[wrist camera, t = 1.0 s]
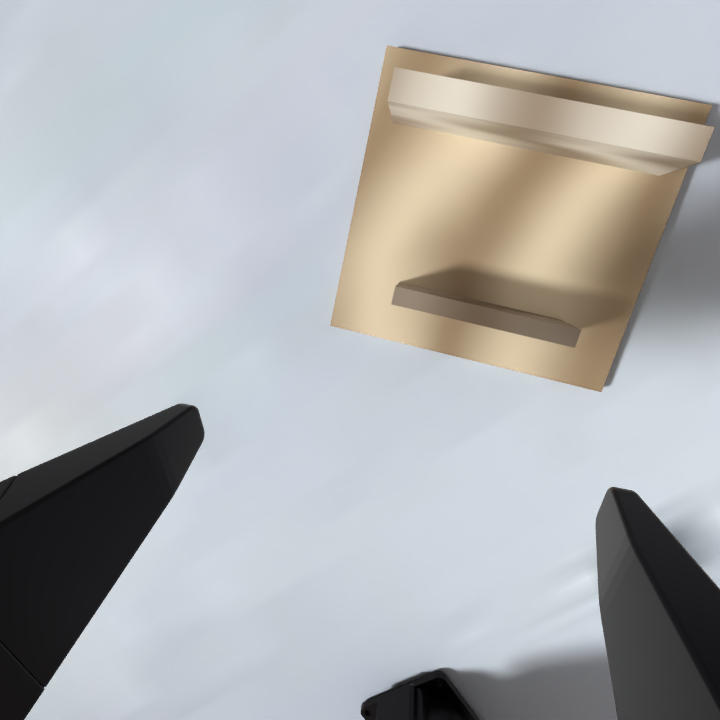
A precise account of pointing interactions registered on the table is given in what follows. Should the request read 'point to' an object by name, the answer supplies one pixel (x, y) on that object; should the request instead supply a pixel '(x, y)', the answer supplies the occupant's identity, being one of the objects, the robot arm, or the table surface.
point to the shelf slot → (511, 213)
